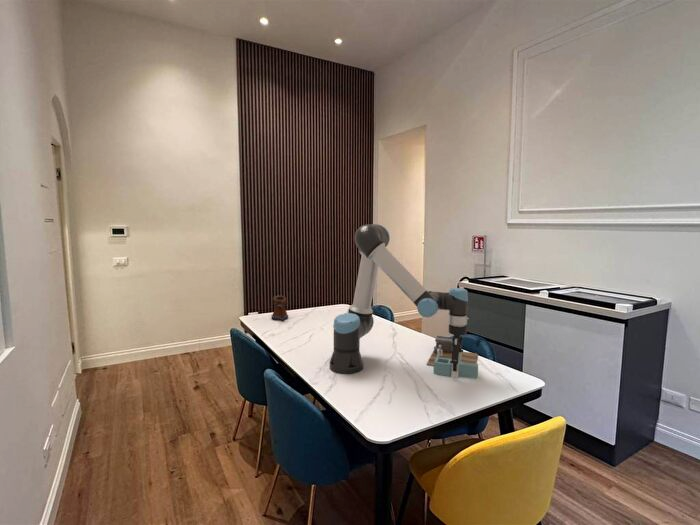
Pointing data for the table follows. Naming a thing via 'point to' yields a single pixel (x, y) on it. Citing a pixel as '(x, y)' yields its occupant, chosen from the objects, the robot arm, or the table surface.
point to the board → (466, 358)
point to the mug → (279, 308)
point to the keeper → (443, 344)
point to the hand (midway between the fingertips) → (456, 372)
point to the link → (465, 369)
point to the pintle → (439, 352)
